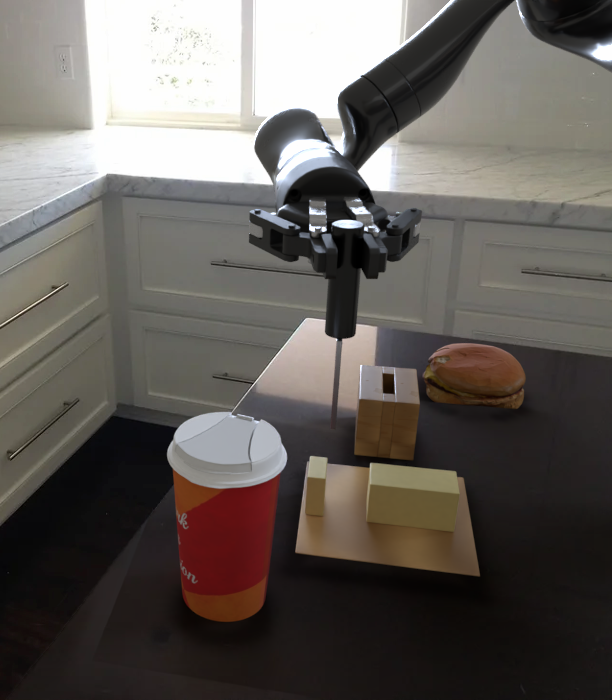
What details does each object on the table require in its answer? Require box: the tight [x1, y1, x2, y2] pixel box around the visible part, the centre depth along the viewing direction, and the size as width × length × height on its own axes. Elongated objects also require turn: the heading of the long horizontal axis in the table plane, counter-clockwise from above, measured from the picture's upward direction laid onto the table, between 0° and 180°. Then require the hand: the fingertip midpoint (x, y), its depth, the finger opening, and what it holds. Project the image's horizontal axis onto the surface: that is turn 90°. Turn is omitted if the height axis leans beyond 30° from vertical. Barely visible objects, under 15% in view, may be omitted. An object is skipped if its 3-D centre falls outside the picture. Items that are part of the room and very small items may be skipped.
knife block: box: [353, 364, 421, 461], centre depth 78 cm, size 5×7×7 cm
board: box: [294, 461, 481, 577], centre depth 69 cm, size 13×13×2 cm
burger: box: [421, 342, 527, 410], centre depth 88 cm, size 10×9×5 cm
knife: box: [324, 220, 364, 431], centre depth 63 cm, size 2×3×15 cm
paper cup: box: [166, 411, 288, 623], centre depth 58 cm, size 8×8×14 cm
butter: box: [366, 462, 460, 532], centre depth 67 cm, size 6×3×4 cm, turn 77°
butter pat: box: [305, 455, 329, 516], centre depth 69 cm, size 1×3×4 cm, turn 166°
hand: (353, 265), depth 58 cm, fingers closed on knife, 2 cm apart
